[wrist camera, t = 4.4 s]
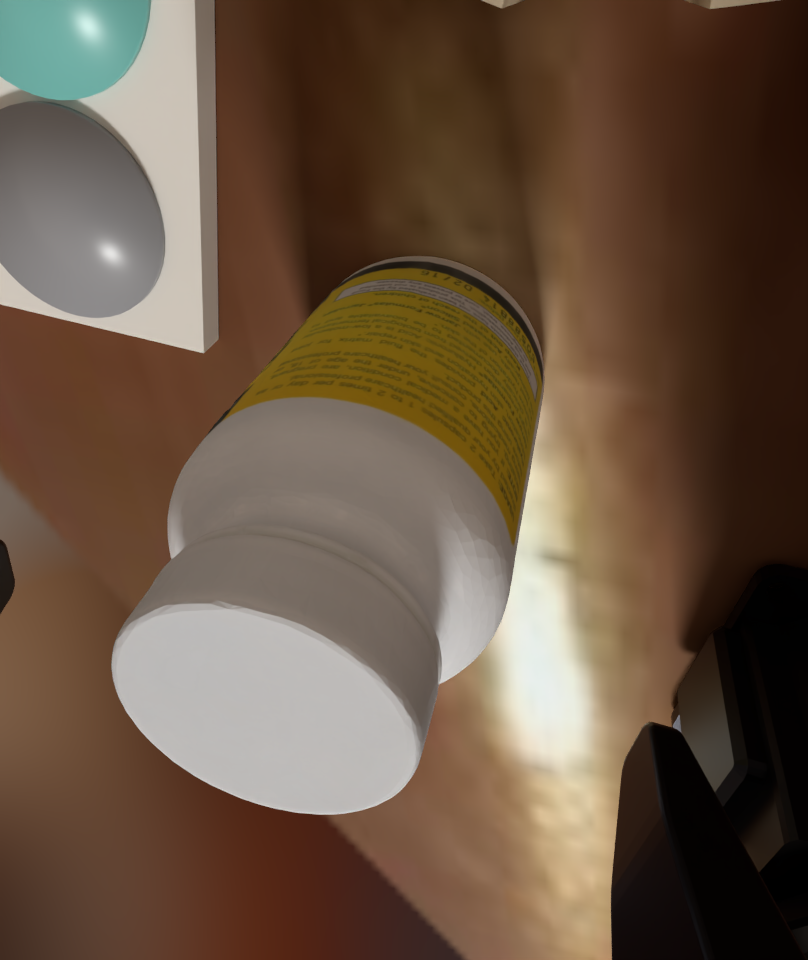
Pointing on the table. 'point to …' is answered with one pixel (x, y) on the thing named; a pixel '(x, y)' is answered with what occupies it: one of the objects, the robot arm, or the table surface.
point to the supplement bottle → (341, 543)
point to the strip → (110, 165)
